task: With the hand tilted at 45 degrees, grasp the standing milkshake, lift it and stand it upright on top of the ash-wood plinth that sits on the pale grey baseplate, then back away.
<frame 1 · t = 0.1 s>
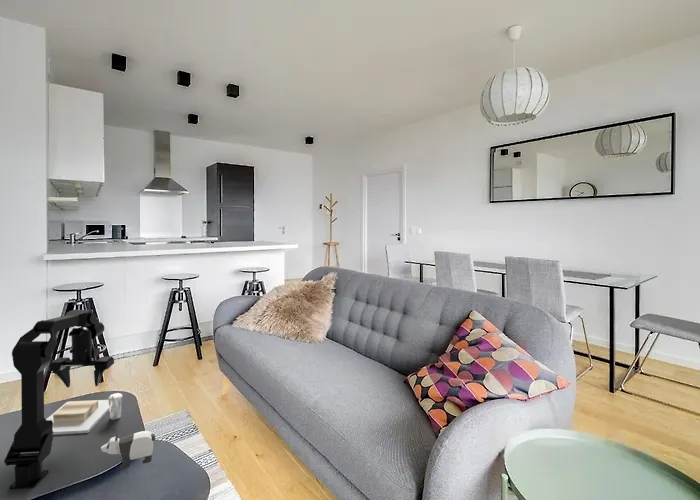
hand: (82, 386, 131), 15 cm above the table, tool pointing down, fingers open, 9 cm apart
baseplate: (76, 417, 137), on the table
plinth: (76, 411, 137), on the baseplate, point 2 cm above the table
milkshake: (115, 418, 137), on the table
giant panda: (131, 462, 114), on the table
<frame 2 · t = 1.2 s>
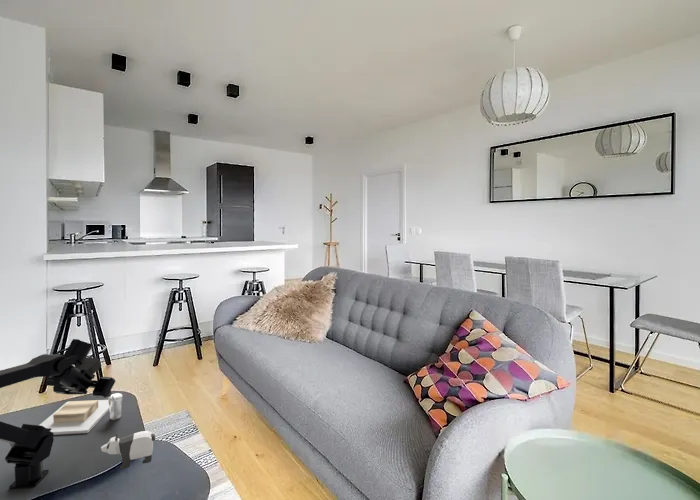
hand: (98, 393, 129), 13 cm above the table, tool tilted 45°, fingers open, 9 cm apart
nothing on the table moved.
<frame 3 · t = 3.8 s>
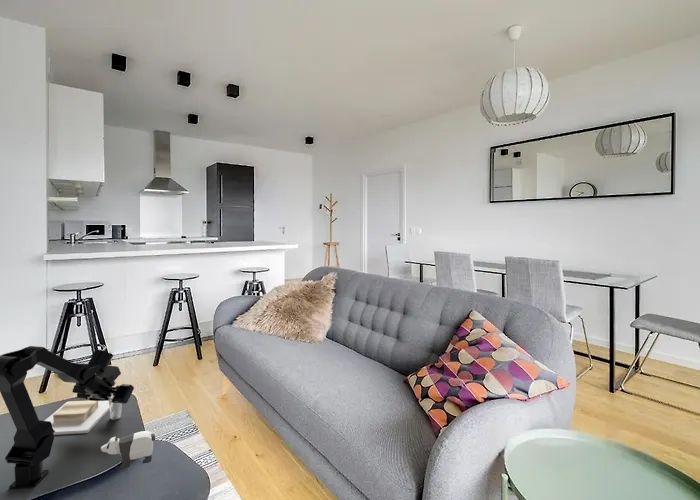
hand: (117, 399, 138), 7 cm above the table, tool tilted 45°, fingers closed on milkshake, 4 cm apart
milkshake: (115, 418, 137), on the table, touching gripper
everything else where it was.
when the fingers open (12 cm above the table, at t = 7.0 s): milkshake drops 1 cm, resting on plinth.
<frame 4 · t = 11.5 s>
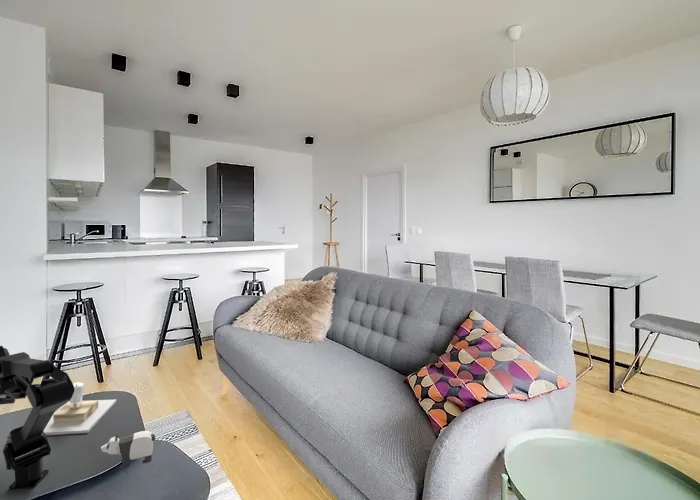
hand: (31, 400, 122), 14 cm above the table, tool tilted 45°, fingers open, 9 cm apart
milkshake: (76, 407, 136), point 4 cm above the table, touching plinth
everything else where it was.
at the end: milkshake inside the target area on the plinth (0.2 cm from its centre), point 3.8 cm above the plinth's base; milkshake tilted 0°; the gripper is holding nothing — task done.
